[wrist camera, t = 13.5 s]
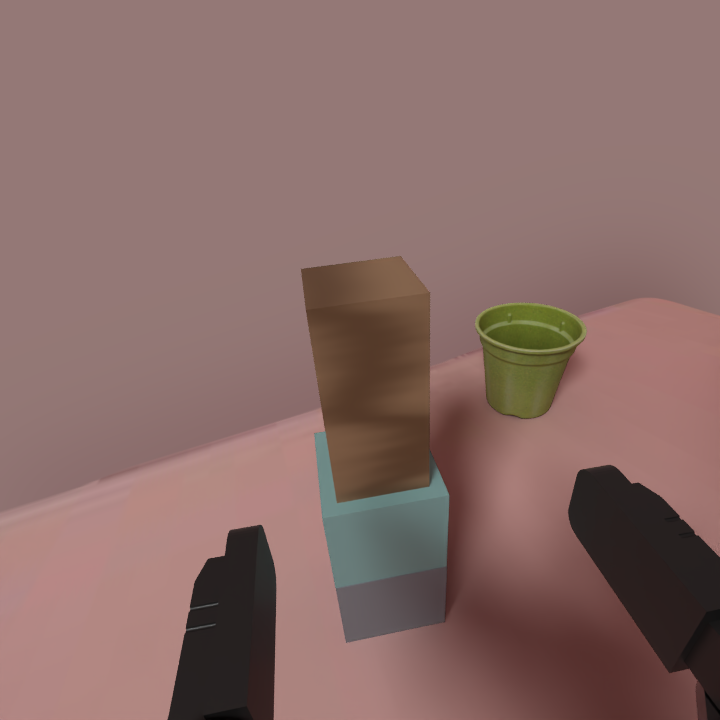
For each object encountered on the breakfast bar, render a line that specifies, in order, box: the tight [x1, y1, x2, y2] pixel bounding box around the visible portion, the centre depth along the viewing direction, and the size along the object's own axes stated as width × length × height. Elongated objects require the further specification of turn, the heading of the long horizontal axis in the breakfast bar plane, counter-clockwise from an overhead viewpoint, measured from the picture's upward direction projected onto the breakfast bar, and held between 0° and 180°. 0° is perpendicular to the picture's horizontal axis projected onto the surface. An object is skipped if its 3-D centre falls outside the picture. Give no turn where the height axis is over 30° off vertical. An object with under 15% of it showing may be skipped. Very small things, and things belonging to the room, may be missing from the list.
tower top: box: [314, 432, 449, 588], centre depth 24 cm, size 6×6×6 cm
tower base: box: [336, 566, 447, 643], centre depth 27 cm, size 6×6×6 cm
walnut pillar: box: [301, 256, 430, 503], centre depth 20 cm, size 4×4×10 cm
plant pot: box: [475, 303, 587, 418], centre depth 41 cm, size 9×9×9 cm
